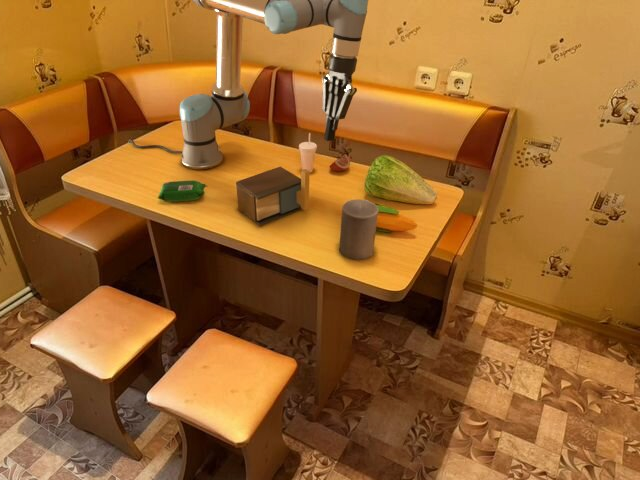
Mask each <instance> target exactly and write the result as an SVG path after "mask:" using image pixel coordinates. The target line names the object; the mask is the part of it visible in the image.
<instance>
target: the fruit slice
mask: <svg viewBox="0 0 640 480" xmlns="http://www.w3.org/2000/svg"><path fill="white" fill-rule="evenodd" d="M350 165H351V161H350V158H349V156H348V155H347V154H346V153H344V154H343V155H341V156H340V157H339V158H336V159H335V160H334V161H333V162H332V163H331V164H330V165H329V168H330V169H331V170H332V171H334V172H343V171H346V170H347V169H349V168H350Z"/></svg>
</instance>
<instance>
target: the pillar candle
mask: <svg viewBox="0 0 640 480" xmlns="http://www.w3.org/2000/svg"><path fill="white" fill-rule="evenodd" d="M375 204H376V203H375V202H372V201H370V200H368V199H357V198H356V199H350V200H347V201H345V202H344V203H343V204H342V206H341V217H340V233H339V234H340V235H339V236H340V237H339V247H338V251H339V253H340V254H341V256H343V257H345V258H347V259H350V260H355V261H358V260H365V259H369V258H370V257H372V255H373V253H374V249H375V241H376V240H375V239H376V233H377V230H376V229H377V228H376V225H377V217H378V207H377V206H376V205H375Z"/></svg>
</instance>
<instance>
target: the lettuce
mask: <svg viewBox="0 0 640 480" xmlns="http://www.w3.org/2000/svg"><path fill="white" fill-rule="evenodd" d="M363 185H364V186H363V187H364V192H365V193H366V194H367V195H368V196H371V197H375V198H380V199H384V200H387V201H395V202H402V203H406V204H413V205H433V204H434V203H435V201H436V200H437V197H438V192H437V191H436V190H435V189H434V187H433V186H431V185H430V184H429V183H428V182H427V181H426V180H425V179H424V178H423V177H422V176H421V175H420V174H418V173H417V172H416V171H414V169H412V168H411V167H409V166H408V165H407V164H406V163H404V162H403V161H401V160H400V159H397V158H396V157H393V156H391V155H387V154H383V155H380V156H377V157H376V158H375V159H374V160H373V162H372V163H371V165H370V166H369V169H368V171H367V172H366V175H365V179H364V183H363Z"/></svg>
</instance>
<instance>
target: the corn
mask: <svg viewBox="0 0 640 480" xmlns="http://www.w3.org/2000/svg"><path fill="white" fill-rule="evenodd" d="M374 204H375V205H376V206H377V207H378V217H377V225H376V232H384V233H390V231H391V232H393V231H395V232H403V231H410V230H415V229H416V228H417V227H418V224H417V223H416V222H415V221H414V220H413V219H411V218H409V217H407V216H405V215H403V214H400V211H398V210H396V209H395V208H392V207H389V206H388V207H387V206H385V205H381V204H378V203H374Z"/></svg>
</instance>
